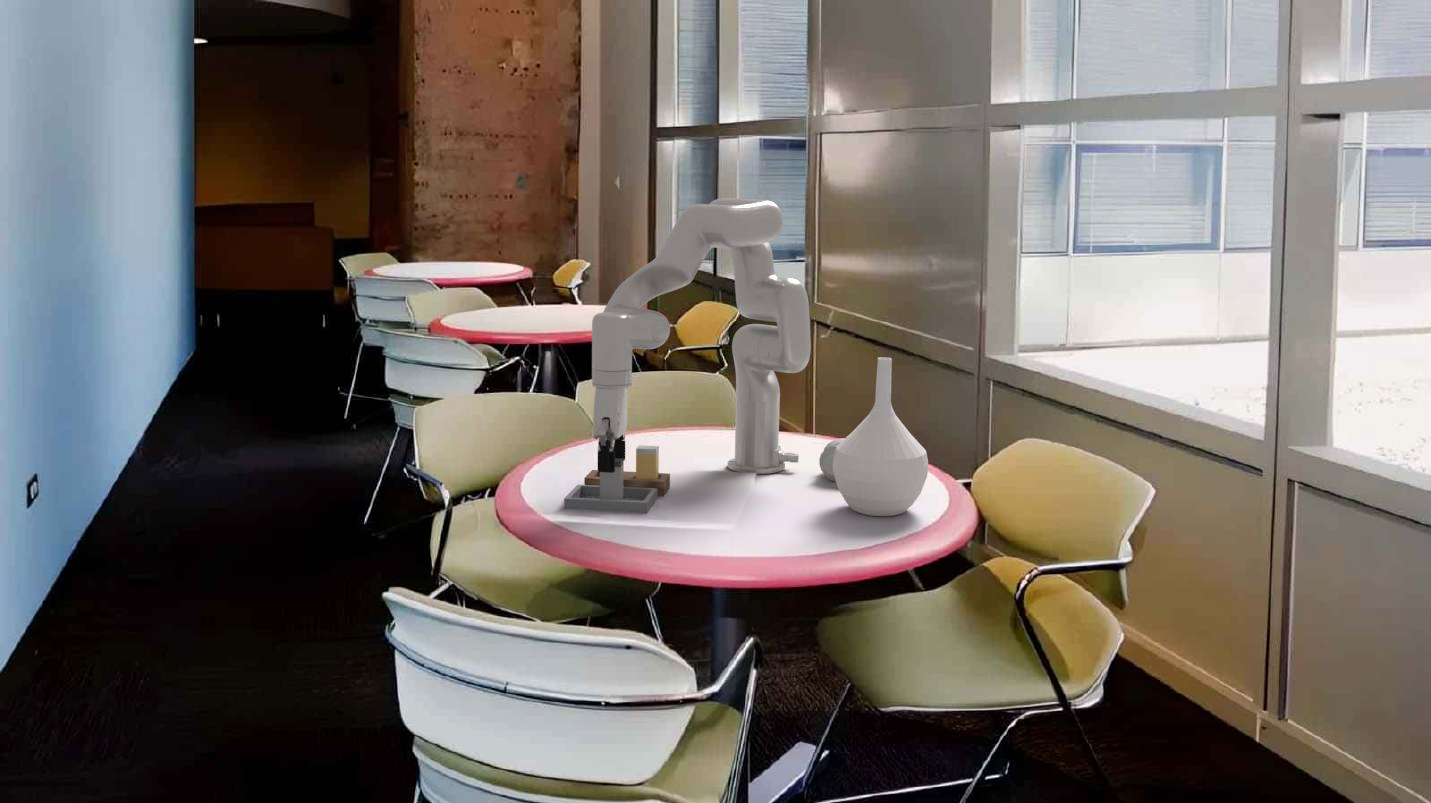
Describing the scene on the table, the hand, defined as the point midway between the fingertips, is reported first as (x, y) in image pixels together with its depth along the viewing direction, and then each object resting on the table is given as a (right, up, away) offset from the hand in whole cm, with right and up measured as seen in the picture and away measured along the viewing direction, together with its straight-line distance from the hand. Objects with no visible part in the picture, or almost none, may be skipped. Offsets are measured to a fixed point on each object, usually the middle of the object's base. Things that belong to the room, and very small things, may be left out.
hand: (611, 466), depth 252 cm
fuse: (+6, -6, +11) cm, 14 cm away
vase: (+52, -9, +4) cm, 52 cm away
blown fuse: (0, -8, +1) cm, 8 cm away
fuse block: (+2, -6, +12) cm, 13 cm away
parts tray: (0, -8, +2) cm, 8 cm away
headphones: (+52, -5, +29) cm, 60 cm away
